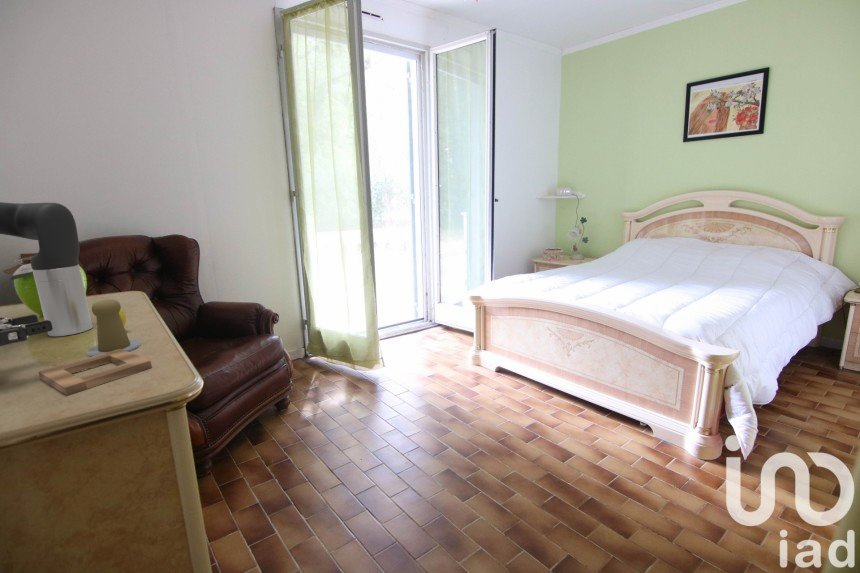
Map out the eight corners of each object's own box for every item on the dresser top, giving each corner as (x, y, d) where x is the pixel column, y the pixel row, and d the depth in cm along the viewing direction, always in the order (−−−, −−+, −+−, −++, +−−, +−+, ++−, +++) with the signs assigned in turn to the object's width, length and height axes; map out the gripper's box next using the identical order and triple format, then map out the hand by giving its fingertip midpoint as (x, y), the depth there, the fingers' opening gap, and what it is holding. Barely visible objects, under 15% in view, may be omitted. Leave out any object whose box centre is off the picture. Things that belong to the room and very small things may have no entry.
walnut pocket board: (40, 378, 85) (38, 371, 84) (121, 355, 96) (120, 348, 96) (66, 395, 77) (65, 387, 77) (151, 367, 88) (150, 360, 88)
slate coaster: (80, 352, 99) (79, 349, 99) (129, 338, 107) (129, 336, 107) (98, 360, 93) (97, 357, 93) (148, 345, 101) (148, 343, 101)
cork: (105, 353, 95) (95, 305, 93) (93, 349, 98) (82, 302, 96) (135, 345, 100) (126, 298, 98) (123, 341, 103) (113, 296, 101)
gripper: (-73, 332, 71) (52, 308, 84) (-88, 320, 79) (28, 300, 92) (-60, 375, 73) (60, 345, 86) (-76, 359, 81) (36, 334, 94)
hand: (44, 322), depth 89 cm, fingers open, 8 cm apart
